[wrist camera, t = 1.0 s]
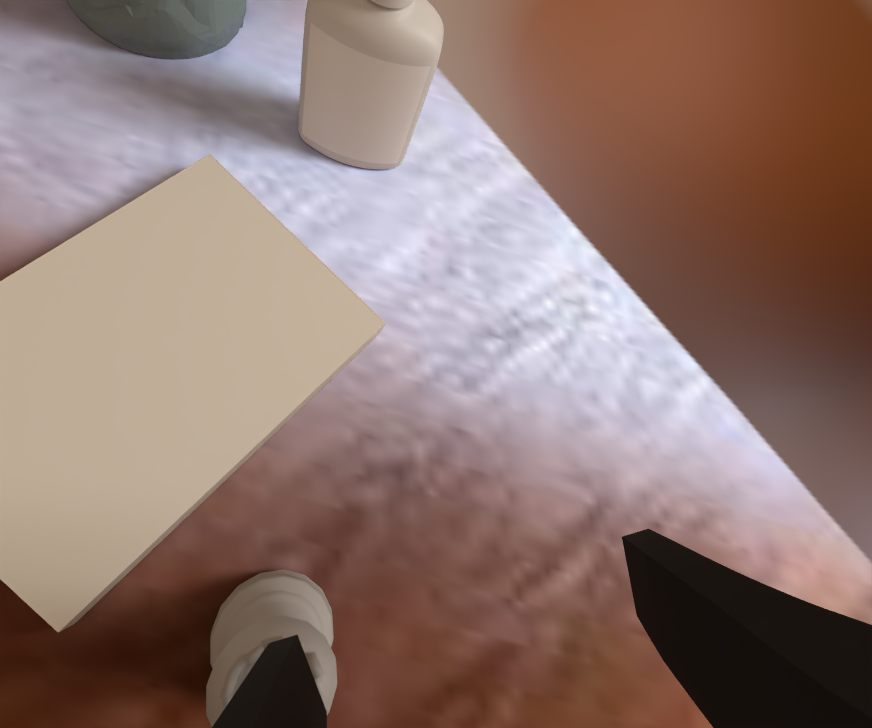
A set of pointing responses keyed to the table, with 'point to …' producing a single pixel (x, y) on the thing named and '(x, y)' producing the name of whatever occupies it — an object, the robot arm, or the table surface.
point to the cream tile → (152, 377)
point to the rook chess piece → (269, 633)
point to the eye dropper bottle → (366, 77)
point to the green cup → (164, 24)
